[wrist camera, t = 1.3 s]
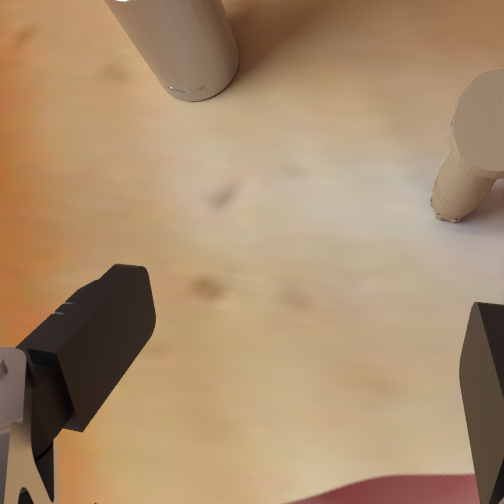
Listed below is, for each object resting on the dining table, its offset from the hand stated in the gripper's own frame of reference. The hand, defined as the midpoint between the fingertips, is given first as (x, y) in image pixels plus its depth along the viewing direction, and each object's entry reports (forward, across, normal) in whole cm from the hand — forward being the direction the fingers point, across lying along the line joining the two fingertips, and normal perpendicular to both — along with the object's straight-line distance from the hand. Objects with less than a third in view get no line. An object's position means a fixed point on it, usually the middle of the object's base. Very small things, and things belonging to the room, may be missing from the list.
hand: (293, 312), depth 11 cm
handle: (+31, -8, +10) cm, 34 cm away
